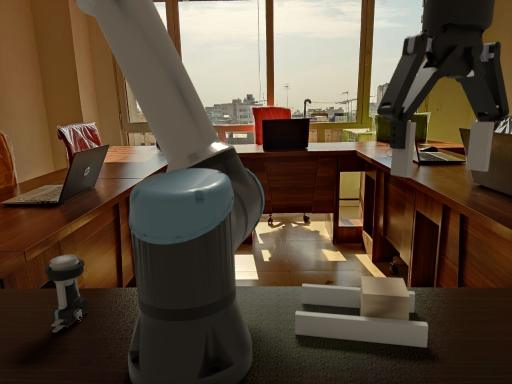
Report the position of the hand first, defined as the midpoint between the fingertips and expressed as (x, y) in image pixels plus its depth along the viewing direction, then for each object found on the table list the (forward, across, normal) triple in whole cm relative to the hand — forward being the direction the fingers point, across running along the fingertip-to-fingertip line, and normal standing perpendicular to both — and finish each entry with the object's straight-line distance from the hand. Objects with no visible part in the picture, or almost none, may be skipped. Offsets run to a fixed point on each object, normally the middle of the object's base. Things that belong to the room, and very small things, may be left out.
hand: (440, 173), depth 49 cm
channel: (+22, -8, +5) cm, 24 cm away
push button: (+24, -47, +24) cm, 58 cm away
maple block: (+22, -5, +3) cm, 23 cm away
